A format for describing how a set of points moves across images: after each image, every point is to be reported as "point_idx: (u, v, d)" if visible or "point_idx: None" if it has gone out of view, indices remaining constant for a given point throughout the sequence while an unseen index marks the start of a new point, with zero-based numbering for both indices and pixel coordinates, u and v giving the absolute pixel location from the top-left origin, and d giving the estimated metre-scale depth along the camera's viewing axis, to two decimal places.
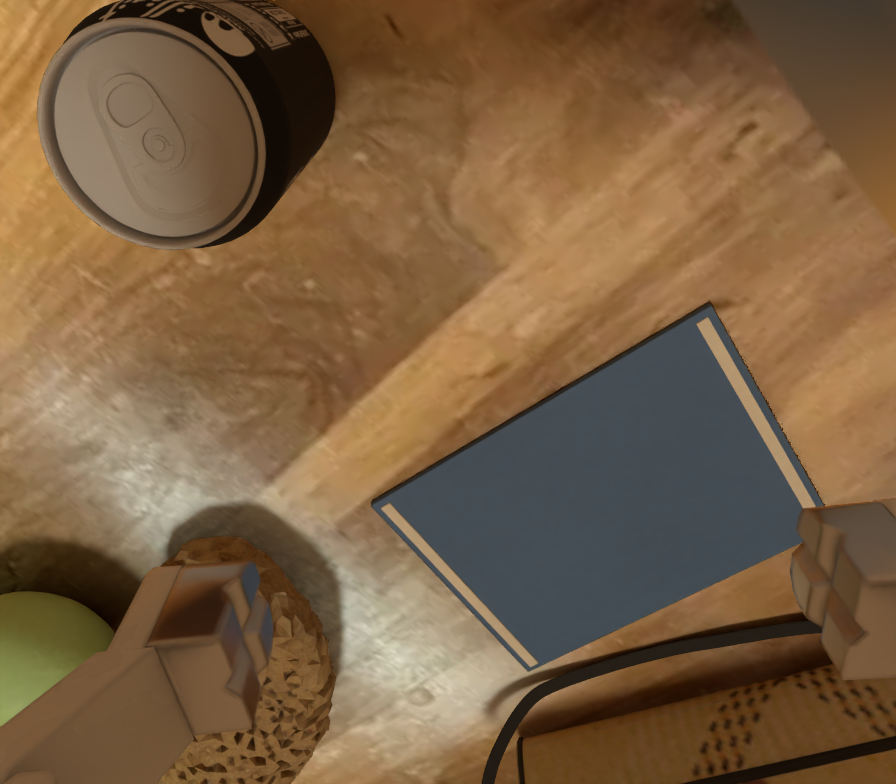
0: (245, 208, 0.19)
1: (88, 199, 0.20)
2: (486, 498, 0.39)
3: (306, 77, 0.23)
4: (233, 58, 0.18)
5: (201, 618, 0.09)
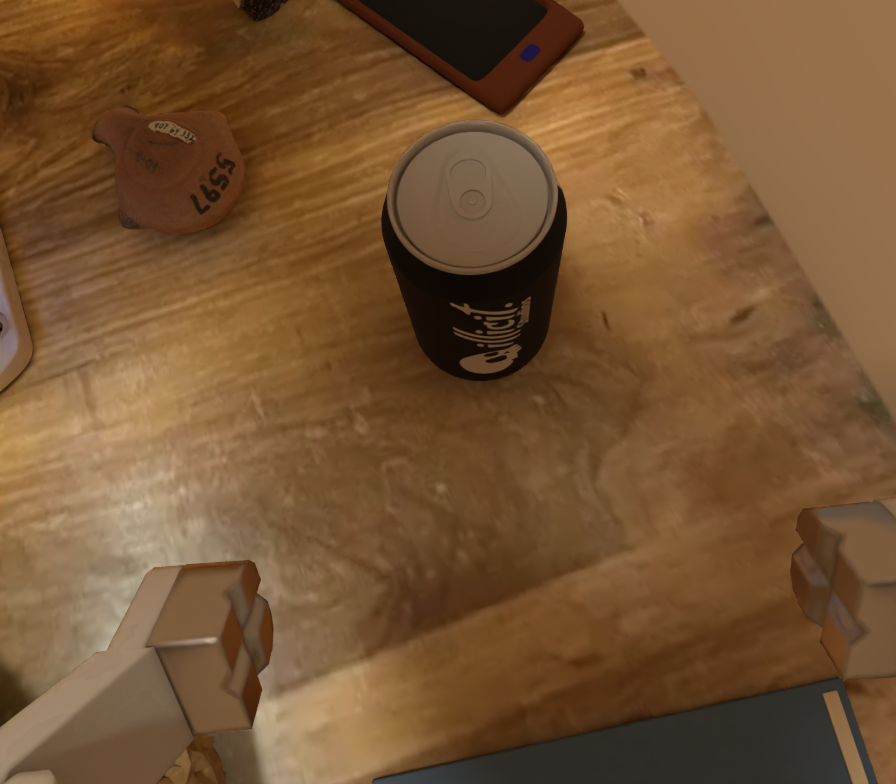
0: (513, 257, 0.23)
1: (395, 217, 0.24)
2: None
3: None
4: None
5: (201, 618, 0.09)
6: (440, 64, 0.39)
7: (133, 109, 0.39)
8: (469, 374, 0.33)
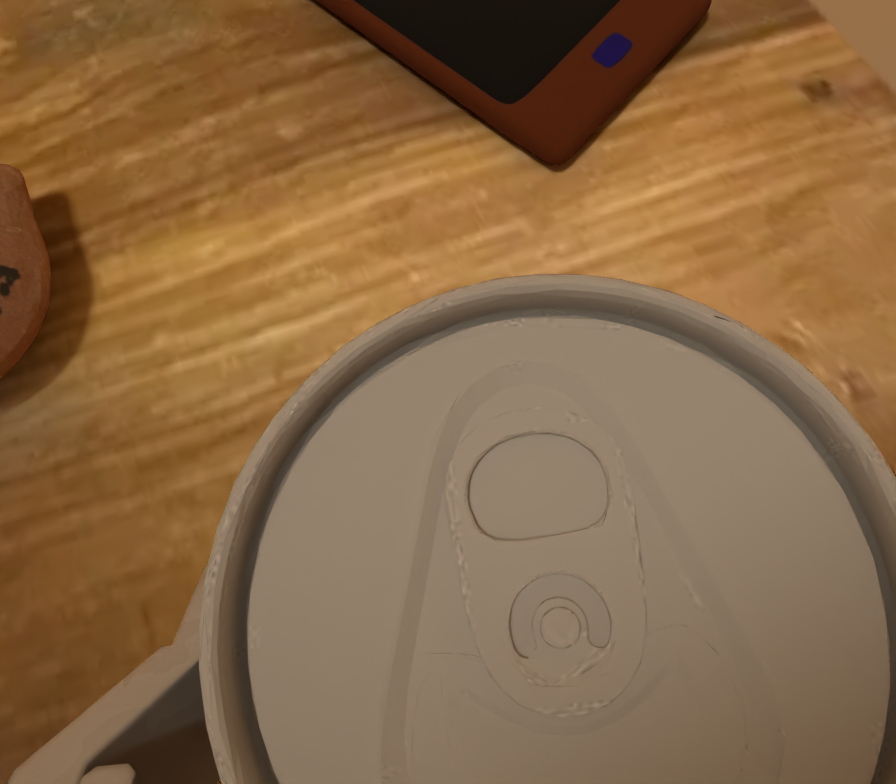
0: None
1: (241, 684, 0.06)
2: None
3: None
4: None
5: None
6: (439, 72, 0.20)
7: None
8: None
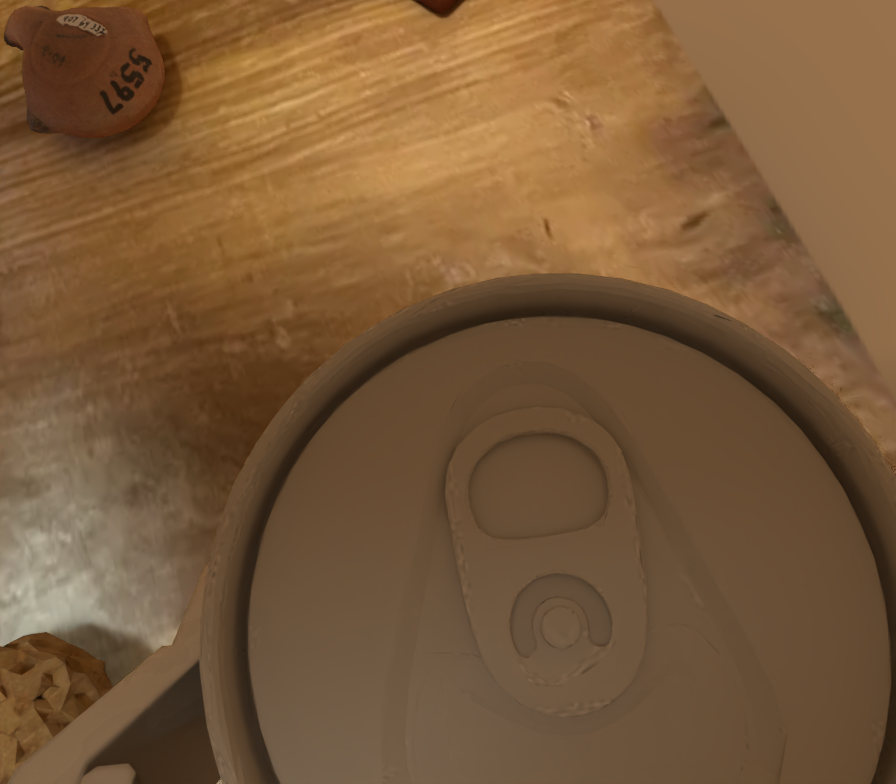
0: None
1: (241, 684, 0.06)
2: None
3: None
4: None
5: None
6: None
7: None
8: None
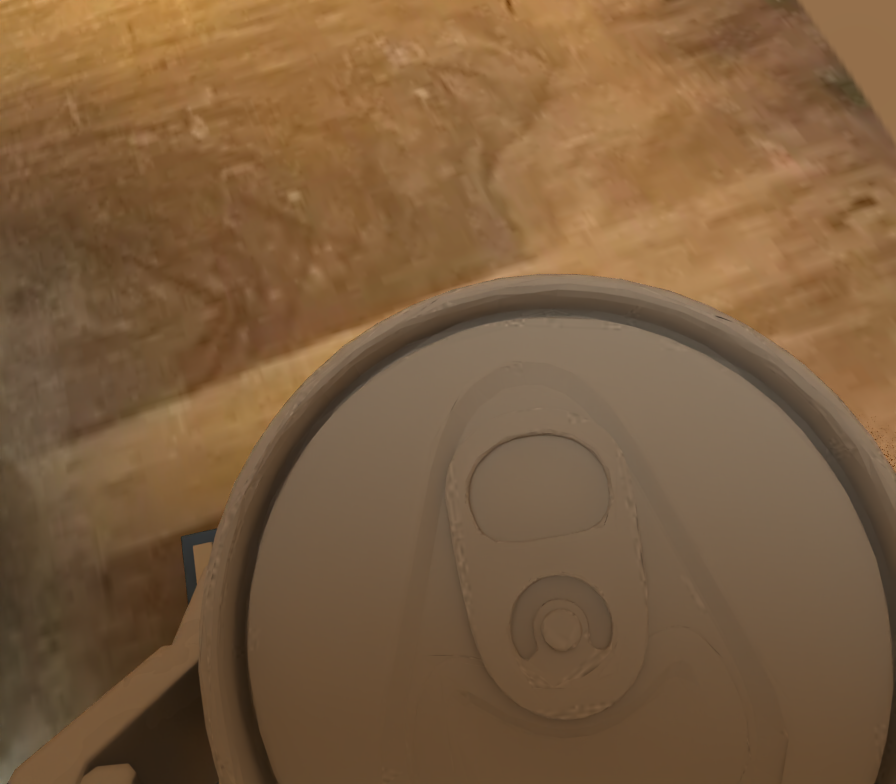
0: None
1: (241, 686, 0.06)
2: None
3: None
4: None
5: None
6: None
7: None
8: None
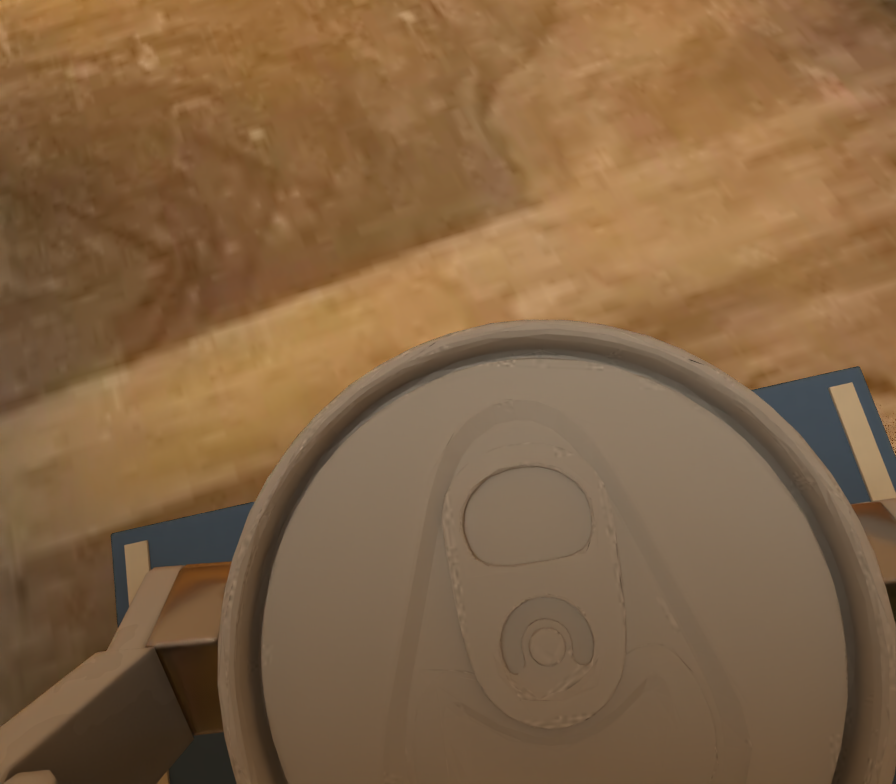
0: None
1: (255, 698, 0.07)
2: None
3: None
4: None
5: (200, 619, 0.09)
6: None
7: None
8: None
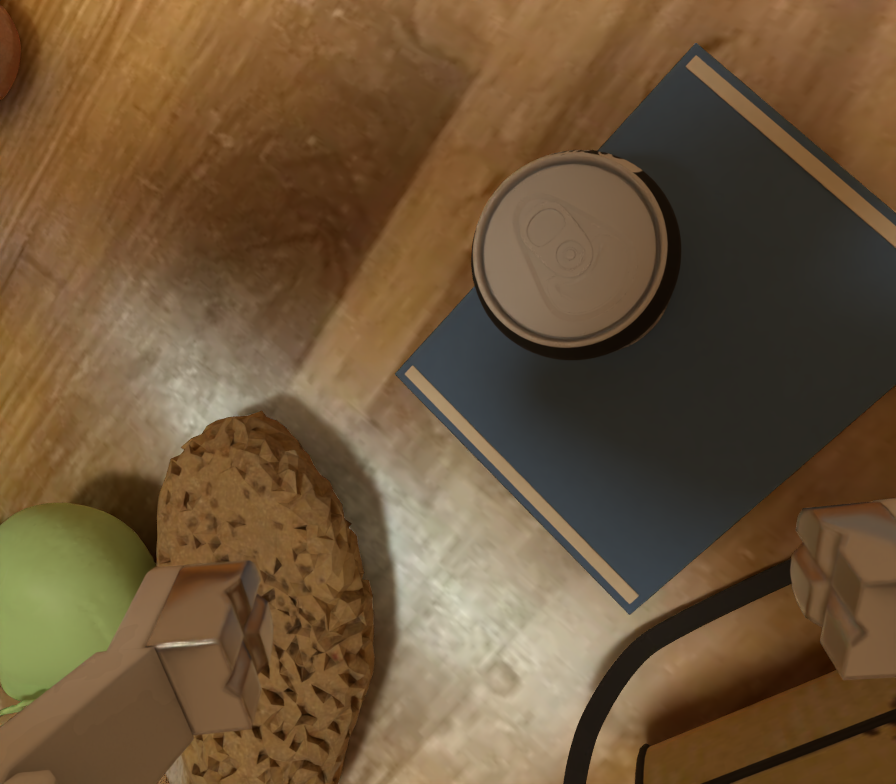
0: (652, 291, 0.21)
1: (507, 317, 0.22)
2: None
3: None
4: None
5: (201, 618, 0.09)
6: None
7: None
8: None
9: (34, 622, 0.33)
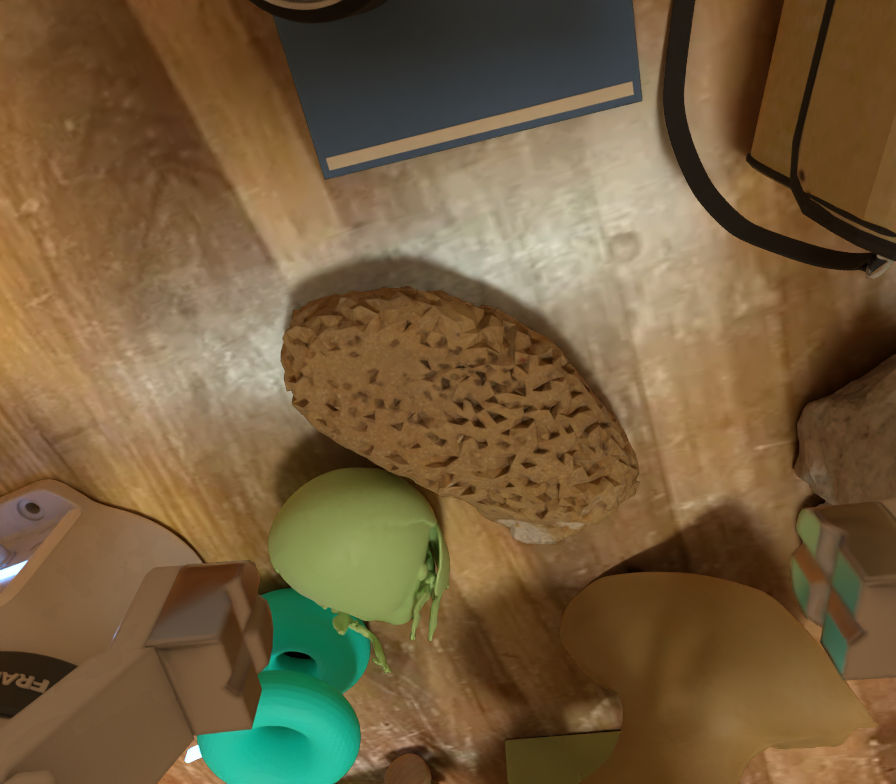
0: None
1: None
2: (354, 49, 0.33)
3: None
4: None
5: (201, 618, 0.09)
6: None
7: None
8: None
9: (359, 567, 0.38)
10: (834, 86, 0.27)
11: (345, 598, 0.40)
